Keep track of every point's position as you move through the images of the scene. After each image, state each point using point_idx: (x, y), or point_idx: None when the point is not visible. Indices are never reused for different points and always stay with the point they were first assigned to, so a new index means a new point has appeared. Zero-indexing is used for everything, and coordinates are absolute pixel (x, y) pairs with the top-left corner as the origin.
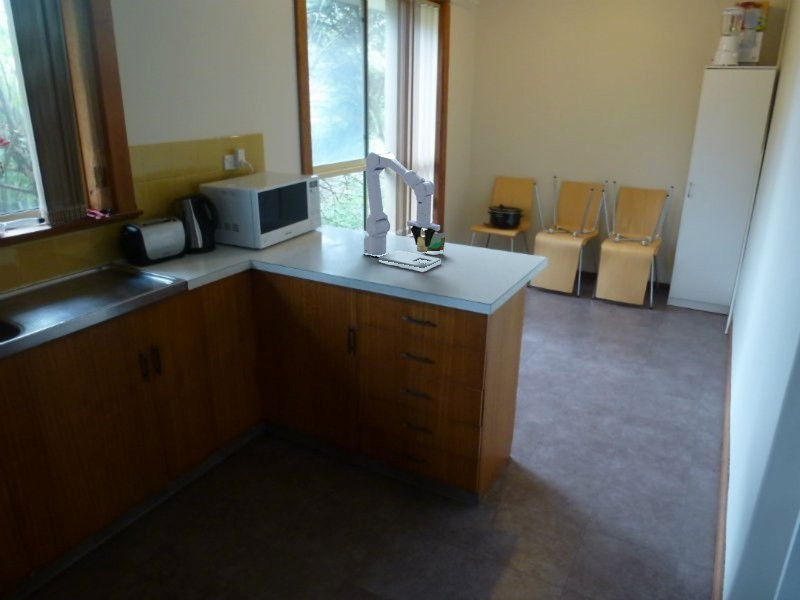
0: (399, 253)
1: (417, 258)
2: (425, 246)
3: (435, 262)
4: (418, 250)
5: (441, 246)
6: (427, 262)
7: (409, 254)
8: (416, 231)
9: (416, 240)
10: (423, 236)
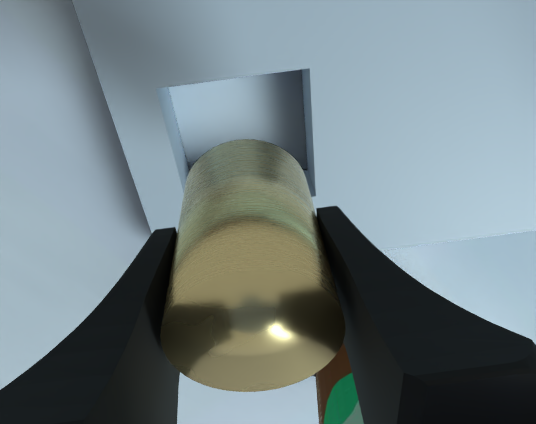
0: (532, 164)
1: (316, 164)
2: (178, 229)
3: (143, 201)
4: (251, 147)
5: (321, 411)
6: (163, 136)
7: (439, 199)
8: (379, 372)
9: (332, 241)
10: (239, 345)
